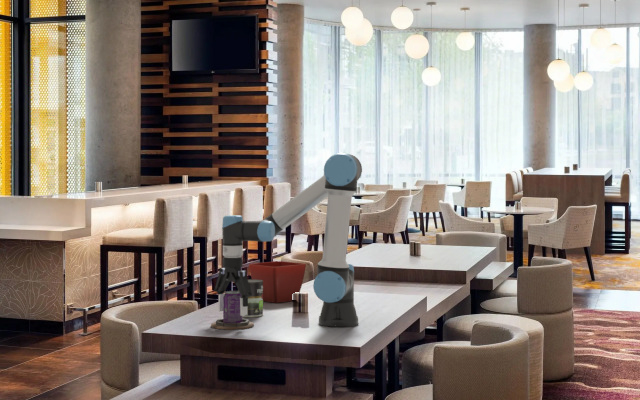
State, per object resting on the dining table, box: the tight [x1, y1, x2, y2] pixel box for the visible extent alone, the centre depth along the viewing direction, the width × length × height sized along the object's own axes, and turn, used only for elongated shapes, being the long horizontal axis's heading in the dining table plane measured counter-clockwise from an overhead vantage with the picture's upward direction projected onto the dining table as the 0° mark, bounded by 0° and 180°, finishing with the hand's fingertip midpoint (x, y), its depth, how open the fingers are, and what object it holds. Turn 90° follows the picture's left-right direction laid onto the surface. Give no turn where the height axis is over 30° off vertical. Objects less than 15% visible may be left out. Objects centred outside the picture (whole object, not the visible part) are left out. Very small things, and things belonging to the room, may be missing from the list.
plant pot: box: [248, 260, 307, 304], centre depth 377 cm, size 19×19×17 cm
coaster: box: [210, 317, 255, 331], centre depth 312 cm, size 16×16×2 cm
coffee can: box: [237, 278, 264, 318], centre depth 337 cm, size 10×10×14 cm
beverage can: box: [222, 290, 243, 323], centre depth 312 cm, size 7×7×12 cm
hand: (232, 313), depth 312 cm, fingers open, 13 cm apart
